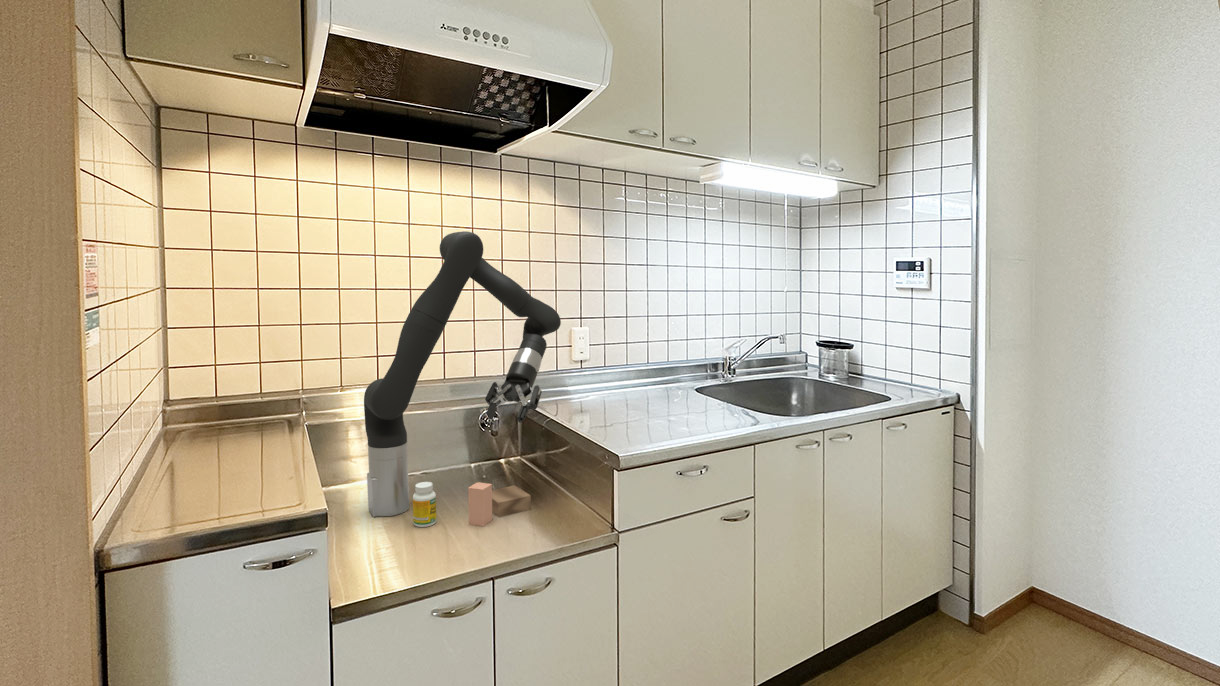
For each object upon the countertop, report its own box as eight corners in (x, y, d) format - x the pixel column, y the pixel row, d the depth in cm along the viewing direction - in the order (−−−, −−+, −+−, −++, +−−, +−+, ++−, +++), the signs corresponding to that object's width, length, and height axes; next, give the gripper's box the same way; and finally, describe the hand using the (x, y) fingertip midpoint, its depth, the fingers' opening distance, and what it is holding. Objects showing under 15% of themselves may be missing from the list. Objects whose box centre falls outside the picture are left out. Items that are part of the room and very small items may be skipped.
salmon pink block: (483, 526, 140) (483, 489, 139) (469, 523, 142) (468, 487, 141) (492, 519, 144) (491, 484, 143) (478, 517, 145) (477, 482, 144)
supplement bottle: (417, 518, 144) (415, 480, 143) (439, 518, 145) (438, 480, 144) (410, 527, 139) (409, 488, 138) (433, 527, 139) (432, 488, 138)
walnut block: (498, 518, 146) (498, 502, 145) (483, 506, 153) (483, 491, 153) (530, 510, 151) (530, 495, 150) (514, 499, 158) (514, 485, 158)
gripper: (496, 359, 160) (474, 409, 150) (544, 361, 155) (524, 413, 146) (506, 375, 166) (485, 424, 156) (552, 378, 161) (534, 429, 151)
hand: (504, 419), depth 151 cm, fingers open, 8 cm apart
